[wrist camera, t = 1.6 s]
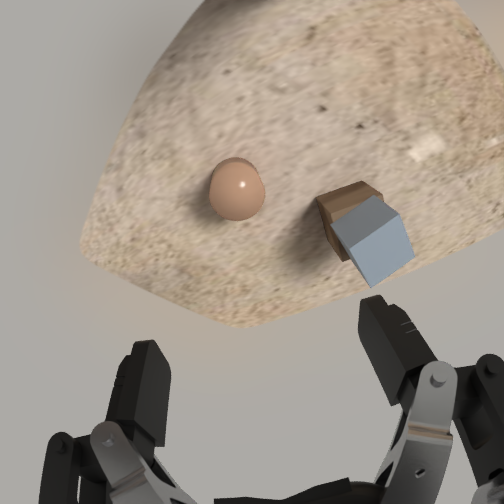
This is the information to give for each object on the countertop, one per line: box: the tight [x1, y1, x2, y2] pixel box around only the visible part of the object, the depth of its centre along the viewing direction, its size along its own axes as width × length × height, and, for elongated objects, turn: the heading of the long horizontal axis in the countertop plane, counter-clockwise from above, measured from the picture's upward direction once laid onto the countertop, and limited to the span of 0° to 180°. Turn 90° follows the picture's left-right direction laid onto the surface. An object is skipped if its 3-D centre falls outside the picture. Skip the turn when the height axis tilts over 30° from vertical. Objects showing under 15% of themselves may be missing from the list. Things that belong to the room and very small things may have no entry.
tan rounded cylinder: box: [209, 158, 265, 221], centre depth 27 cm, size 5×5×5 cm
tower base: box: [316, 181, 384, 262], centre depth 30 cm, size 6×6×5 cm
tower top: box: [330, 195, 415, 288], centre depth 26 cm, size 6×6×5 cm
